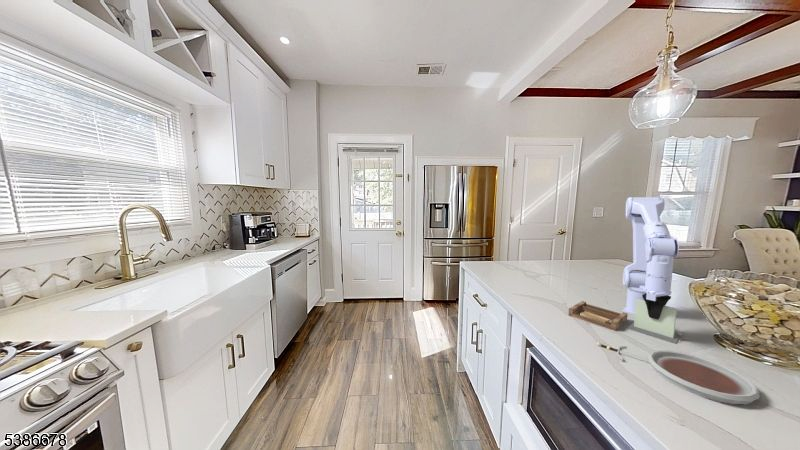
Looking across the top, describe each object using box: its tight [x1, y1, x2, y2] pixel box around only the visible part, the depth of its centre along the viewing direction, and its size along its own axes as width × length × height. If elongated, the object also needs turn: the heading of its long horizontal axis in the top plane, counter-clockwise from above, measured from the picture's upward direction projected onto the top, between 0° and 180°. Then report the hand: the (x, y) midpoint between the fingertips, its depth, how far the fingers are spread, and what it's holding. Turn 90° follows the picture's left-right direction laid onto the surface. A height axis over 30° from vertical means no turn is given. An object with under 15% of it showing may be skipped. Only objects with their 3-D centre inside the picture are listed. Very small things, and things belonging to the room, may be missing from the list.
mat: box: [626, 321, 682, 345], centre depth 81 cm, size 8×11×1 cm
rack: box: [568, 300, 628, 332], centre depth 90 cm, size 12×14×3 cm
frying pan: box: [595, 341, 760, 406], centre depth 64 cm, size 17×3×28 cm
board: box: [633, 299, 678, 338], centre depth 80 cm, size 2×9×9 cm, turn 34°
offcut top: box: [579, 312, 611, 324], centre depth 89 cm, size 4×8×1 cm, turn 30°
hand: (654, 317), depth 80 cm, fingers closed on board, 1 cm apart
